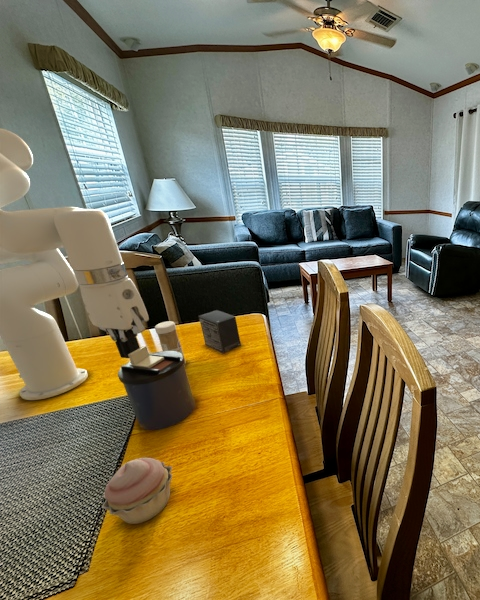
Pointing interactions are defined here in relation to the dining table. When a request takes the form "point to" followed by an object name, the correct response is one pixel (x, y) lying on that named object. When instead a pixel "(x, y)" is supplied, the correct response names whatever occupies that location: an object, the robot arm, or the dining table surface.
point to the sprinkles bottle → (169, 337)
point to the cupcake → (138, 490)
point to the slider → (143, 358)
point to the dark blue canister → (159, 391)
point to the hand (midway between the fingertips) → (131, 354)
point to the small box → (220, 331)
